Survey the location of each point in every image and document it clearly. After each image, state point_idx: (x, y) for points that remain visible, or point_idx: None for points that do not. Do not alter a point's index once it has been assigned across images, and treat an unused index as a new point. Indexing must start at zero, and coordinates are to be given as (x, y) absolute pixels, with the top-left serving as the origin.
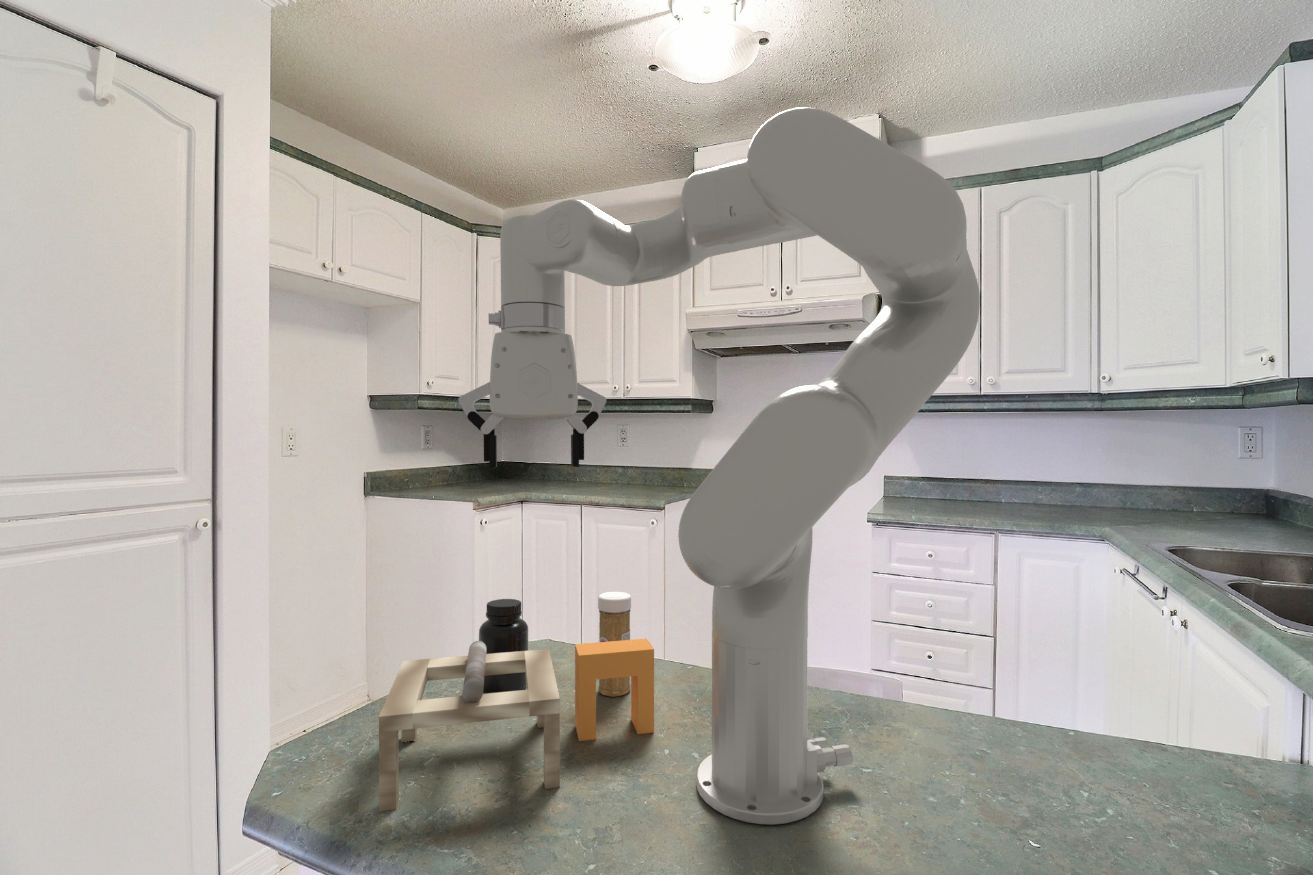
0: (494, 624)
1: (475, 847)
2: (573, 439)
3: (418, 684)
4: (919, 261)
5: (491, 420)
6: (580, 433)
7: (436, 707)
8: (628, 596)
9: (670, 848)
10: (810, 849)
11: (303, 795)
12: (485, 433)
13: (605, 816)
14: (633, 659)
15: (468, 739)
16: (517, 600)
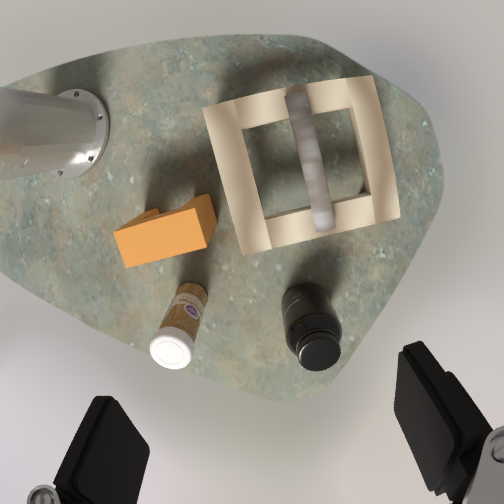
0: (324, 326)
1: (261, 48)
2: (78, 469)
3: (365, 147)
4: None
5: (502, 492)
6: (62, 496)
7: (326, 88)
8: (151, 347)
9: (130, 59)
10: (57, 76)
11: (407, 117)
12: (499, 429)
13: (173, 84)
14: (137, 223)
15: None
16: (304, 365)
